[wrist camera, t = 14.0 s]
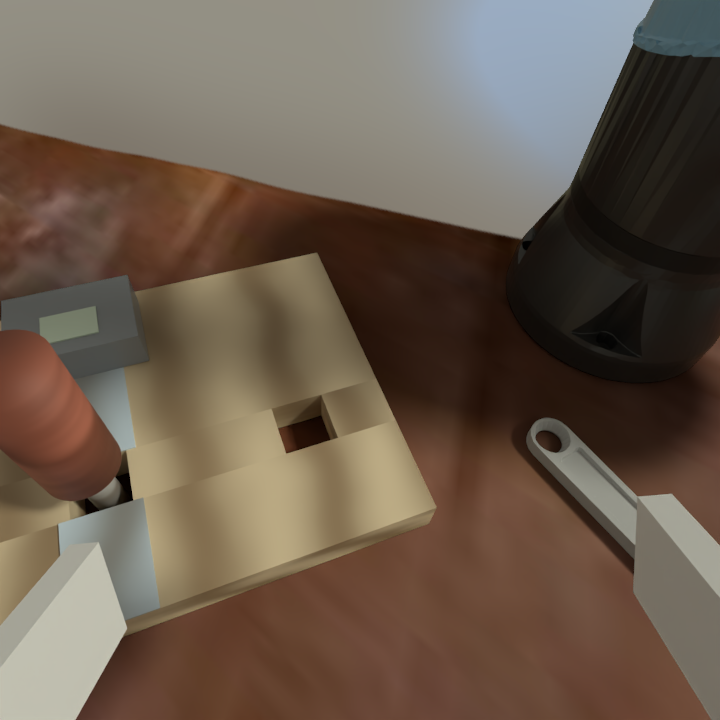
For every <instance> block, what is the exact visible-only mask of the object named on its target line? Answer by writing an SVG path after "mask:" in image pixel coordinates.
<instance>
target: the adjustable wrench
mask: <svg viewBox="0 0 720 720" xmlns="http://www.w3.org/2000/svg"><path fill="white" fill-rule="evenodd" d="M543 430H545V431H549V432H552V433H554V434H555V435H556V436H557V437H558V438H559V439H560V441H561V443H562V447H561V450H560V451H559V452H557V453H554V452H549V451H547V450H545V449H544V448H542V447H541V446H540V445H539V444H538V442H537V441H536V439H535V437H536V434H537V433H538V432H539V431H543ZM526 443H527V446H528V449H529V450H530V452H531V453H532V454H533V455H534V456H535V458H536V459H537V460H538V461H539V462H540V463H541V464H542V465H543V466H544V467H545V468H546V469H547V470H548V471H549V472H550V473H551V474H552V475H553V476H554V477H555V478H556V479H557V480H558V481H559V482H560V483H561V484H562V485H563V486H564V487H565V488H566V489H567V491H568V492H569V493H570V494H571V495H572V496H573V497H574V498H575V499H576V500H577V501H578V502H579V503H580V504H581V505H582V506H583V507H584V508H585V509H586V510H587V511H588V512H589V513H590V514H591V515H592V516H593V517H594V518H595V519H596V520H597V521H598V523H599V524H600V525H601V526H602V527H603V528H604V529H605V530H606V531H607V532H608V533H609V534H610V535H611V536H612V537H613V538H614V539H615V540H616V541H617V542H618V543H619V544H620V545H621V546H622V547H623V548H624V549H625V550H626V551H627V552H628V553H629V554H630V556H631V557H632V558H633V559H634V560H635V540H636V517H637V496H636V495H635V494H634V493H633V492H632V491H631V490H630V489H629V488H628V487H627V486H626V485H625V484H624V483H623V482H622V481H621V480H620V479H619V478H618V477H617V476H616V475H615V474H614V473H613V472H612V471H611V470H610V469H609V468H608V467H607V466H606V465H605V464H604V463H603V462H602V461H601V460H600V459H599V458H598V457H597V456H596V455H595V454H594V453H593V452H592V451H591V450H590V449H589V448H588V447H587V446H586V445H585V444H584V443H583V442H582V441H581V440H580V439H579V438H578V437H577V436H576V435H575V434H574V433H573V432H572V431H571V430H570V429H569V428H568V427H567V426H566V425H565V424H563V423H562V422H561V421H558V420H556V419H553V418H542V419H540V420H537V421H536V422H535V423H534V424H533V425H532V427H531V429H530V430H529V432H528V434H527V437H526Z"/></svg>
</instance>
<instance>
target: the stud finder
mask: <svg viewBox="0 0 720 720" xmlns="http://www.w3.org/2000/svg"><path fill="white" fill-rule="evenodd" d="M13 329H14V330H27V331H31V332H34V333H37V334H39V335H41V336H42V337H44V338H45V339H46V340H47V341H48V342H49V343H50V345H51V346H52V348H53V349H54V351H55V352H56V354H57V355H58V357H59V358H60V360H61V361H62V362H63V364H64V365H65V367H66V368H67V370H68V371H69V373H70V374H71V376H72V377H73V379H78V378H82V377H86V376H90V375H94V374H98V373H102V372H106V371H110V370H114V369H118V368H122V367H126V366H130V365H134V364H138V363H142V362H146V361H149V356H148V350H147V345H146V340H145V334H144V329H143V324H142V318H141V313H140V308H139V302H138V299H137V297H136V295H135V292H134V290H133V287H132V285H131V283H130V280H129V278H128V275H124V276H120V277H115V278H110V279H105V280H100V281H95V282H91V283H86V284H81V285H76V286H71V287H66V288H62V289H57V290H52V291H47V292H42V293H37V294H33V295H28V296H23V297H18V298H13V299H9V300H4V301H1V331H4V330H13Z"/></svg>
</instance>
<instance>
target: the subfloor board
mask: <svg viewBox="0 0 720 720" xmlns="http://www.w3.org/2000/svg"><path fill="white" fill-rule="evenodd" d="M135 295H136V297H137V299H138V302H139V308H140V313H141V318H142V324H143V329H144V334H145V340H146V345H147V350H148V356H149V361H146V362H142V363H138V364H134V365H130V366H126V367H122V368H118V369H114V370H110V371H106V372H102V373H98V374H94V375H90V376H86V377H82V378H78V379H74V380H75V381H76V383H77V384H78V386H79V387H80V389H81V390H82V392H83V393H84V395H85V396H86V398H87V399H88V400H89V402H90V403H91V405H92V406H93V408H94V409H95V411H96V412H97V414H98V415H99V417H100V418H101V419H102V421H103V422H104V424H105V425H106V427H107V428H108V430H109V431H110V433H111V434H112V436H113V437H114V438H115V440H116V441H117V443H118V445H119V447H120V449H121V455H122V459H121V465H120V468H119V471H118V473H117V474H116V476H120V475H123V474H126V473H129V474H130V481H131V488H132V495H133V501H130V502H127V503H124V504H120V505H117V506H114V507H111V508H107V509H104V510H101V511H98V512H95V513H91V514H88V515H86V507H85V499H83V500H78V501H64V500H60V499H57V498H55V497H53V496H51V495H50V494H49V493H48V492H47V491H46V490H44V489H43V488H42V487H41V486H40V485H39V484H38V483H37V482H36V481H35V480H33V479H32V478H31V477H30V476H29V475H28V474H27V473H26V472H25V471H24V470H22V469H21V468H20V467H19V466H18V465H17V464H16V463H15V462H14V461H13V460H11V459H10V458H9V457H8V456H7V455H6V454H5V453H4V452H3V451H2V450H0V625H1V624H2V623H3V622H4V621H5V619H6V618H7V617H8V616H9V615H10V614H11V612H12V611H13V610H14V609H15V608H16V607H17V605H18V604H19V603H20V602H21V601H22V600H23V598H24V597H25V596H26V595H27V594H28V593H29V591H30V590H31V589H32V588H33V587H34V586H35V584H36V583H37V582H38V581H39V580H40V579H41V577H42V576H43V575H44V574H45V573H46V572H47V570H48V569H49V568H50V567H51V566H52V565H53V563H54V562H55V561H56V560H57V559H58V558H59V556H60V555H61V554H62V553H63V552H64V551H65V549H66V548H67V547H68V546H69V545H71V544H83V543H95V542H99V545H100V548H101V551H102V554H103V557H104V560H105V563H106V566H107V569H108V572H109V575H110V578H111V581H112V584H113V587H114V590H115V593H116V596H117V599H118V602H119V605H120V608H121V611H122V614H123V617H124V620H125V623H126V626H127V630H126V632H125V633H124V635H123V637H124V636H127V635H130V634H132V633H135V632H138V631H140V630H143V629H146V628H149V627H151V626H154V625H157V624H159V623H162V622H165V621H167V620H170V619H173V618H176V617H178V616H181V615H184V614H186V613H189V612H192V611H194V610H197V609H200V608H203V607H205V606H208V605H211V604H213V603H216V602H219V601H221V600H224V599H227V598H230V597H232V596H235V595H238V594H240V593H243V592H246V591H248V590H251V589H254V588H256V587H259V586H262V585H265V584H267V583H270V582H273V581H275V580H278V579H281V578H283V577H286V576H289V575H292V574H294V573H297V572H300V571H302V570H305V569H308V568H310V567H313V566H316V565H319V564H321V563H324V562H327V561H329V560H332V559H335V558H337V557H340V556H343V555H346V554H348V553H351V552H354V551H356V550H359V549H362V548H364V547H367V546H370V545H373V544H375V543H378V542H381V541H383V540H386V539H389V538H391V537H394V536H397V535H400V534H402V533H405V532H408V531H410V530H413V529H416V528H418V527H421V526H424V525H426V524H429V522H430V520H431V518H432V516H433V514H434V512H435V510H436V508H437V507H436V505H435V503H434V501H433V499H432V497H431V494H430V492H429V490H428V488H427V486H426V484H425V482H424V480H423V477H422V475H421V473H420V471H419V469H418V467H417V465H416V462H415V460H414V458H413V456H412V454H411V452H410V450H409V448H408V445H407V443H406V441H405V439H404V437H403V435H402V433H401V430H400V428H399V426H398V424H397V422H396V420H395V418H394V416H393V413H392V411H391V409H390V407H389V405H388V403H387V401H386V398H385V396H384V394H383V392H382V390H381V388H380V386H379V384H378V381H377V379H376V377H375V375H374V373H373V371H372V369H371V366H370V364H369V362H368V360H367V358H366V356H365V354H364V352H363V349H362V347H361V345H360V343H359V341H358V339H357V337H356V334H355V332H354V330H353V328H352V326H351V324H350V322H349V320H348V317H347V315H346V313H345V311H344V309H343V307H342V305H341V303H340V300H339V298H338V296H337V294H336V292H335V290H334V288H333V285H332V283H331V281H330V279H329V277H328V275H327V273H326V271H325V268H324V266H323V264H322V262H321V260H320V258H319V256H318V253H313V254H308V255H303V256H299V257H294V258H290V259H285V260H280V261H276V262H271V263H266V264H262V265H257V266H252V267H248V268H243V269H239V270H234V271H229V272H225V273H220V274H215V275H211V276H206V277H201V278H197V279H192V280H188V281H183V282H178V283H174V284H169V285H164V286H160V287H155V288H150V289H146V290H141V291H136V292H135ZM0 331H1V321H0ZM318 416H322V419H323V421H324V424H325V427H326V429H327V432H328V435H329V437H330V440H329V441H326V442H323V443H320V444H316V445H313V446H310V447H307V448H303V449H300V450H297V451H294V452H291V453H287V454H286V452H285V449H284V446H283V443H282V439H281V436H280V433H279V430H278V428H281V427H285V426H288V425H291V424H295V423H298V422H301V421H305V420H308V419H312V418H315V417H318ZM116 476H115V477H116Z"/></svg>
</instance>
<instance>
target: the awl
mask: <svg viewBox="0 0 720 720" xmlns="http://www.w3.org/2000/svg"><path fill="white" fill-rule="evenodd" d="M0 450H2V451H3V452H4V453H5V454H6V455H7V456H8V457H9V458H10V459H11V460H13V461H14V462H15V463H16V464H17V465H18V466H19V467H20V468H21V469H22V470H24V471H25V472H26V473H27V474H28V475H29V476H30V477H31V478H32V479H33V480H35V481H36V482H37V483H38V484H39V485H40V486H41V487H42V488H43V489H44V490H46V491H47V492H48V493H49V494H50V495H51V496H53V497H55V498H57V499H60V500H64V501H78V500H83V499H86V498H88V499H89V500H90V501H91V502H92V503H93V504H94V505H95V506H96V507H97V508H98V509H99V511H101V510H104V509H107V508H111V507H114V506H117V505H120V504H124V503H127V502H130V496H129V494H128V493H127V491H126V490H125V489H124V487H123V486H122V485H121V484H120V482H119V481H118V480H117V478H116V477H115V476H116V474H117V473H118V471H119V468H120V465H121V459H122V455H121V449H120V447H119V445H118V443H117V441H116V440H115V438H114V437H113V436H112V434H111V433H110V431H109V430H108V428H107V427H106V425H105V424H104V422H103V421H102V419H101V418H100V417H99V415H98V414H97V412H96V411H95V409H94V408H93V406H92V405H91V403H90V402H89V400H88V399H87V398H86V396H85V395H84V393H83V392H82V390H81V389H80V387H79V386H78V384H77V383H76V381H75V380H74V379H73V377H72V376H71V374H70V373H69V371H68V370H67V368H66V367H65V365H64V364H63V362H62V361H61V360H60V358H59V357H58V355H57V354H56V352H55V351H54V349H53V348H52V346H51V345H50V343H49V342H48V341H47V340H46V339H45V338H44V337H42V336H41V335H39V334H37V333H34V332H31V331H27V330H14V329H13V330H4V331H0Z"/></svg>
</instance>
